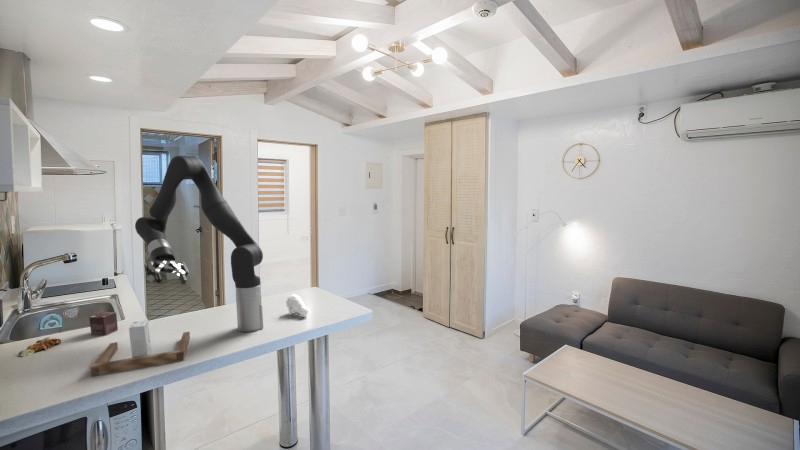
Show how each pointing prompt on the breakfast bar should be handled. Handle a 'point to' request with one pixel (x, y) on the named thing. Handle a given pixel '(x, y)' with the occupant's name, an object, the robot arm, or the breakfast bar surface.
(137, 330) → the skincare box
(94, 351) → the breakfast bar surface
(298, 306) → the white lumpy piece
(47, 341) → the pastry
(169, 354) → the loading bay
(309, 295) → the breakfast bar surface
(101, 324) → the box
